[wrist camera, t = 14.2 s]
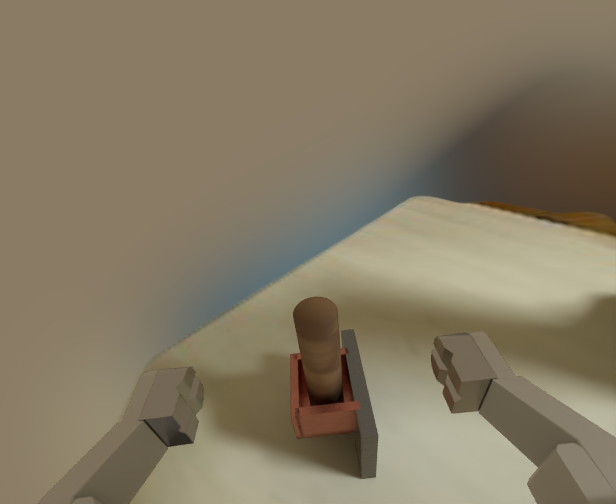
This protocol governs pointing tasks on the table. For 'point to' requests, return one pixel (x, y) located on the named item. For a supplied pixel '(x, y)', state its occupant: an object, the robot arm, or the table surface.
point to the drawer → (338, 407)
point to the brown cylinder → (320, 349)
